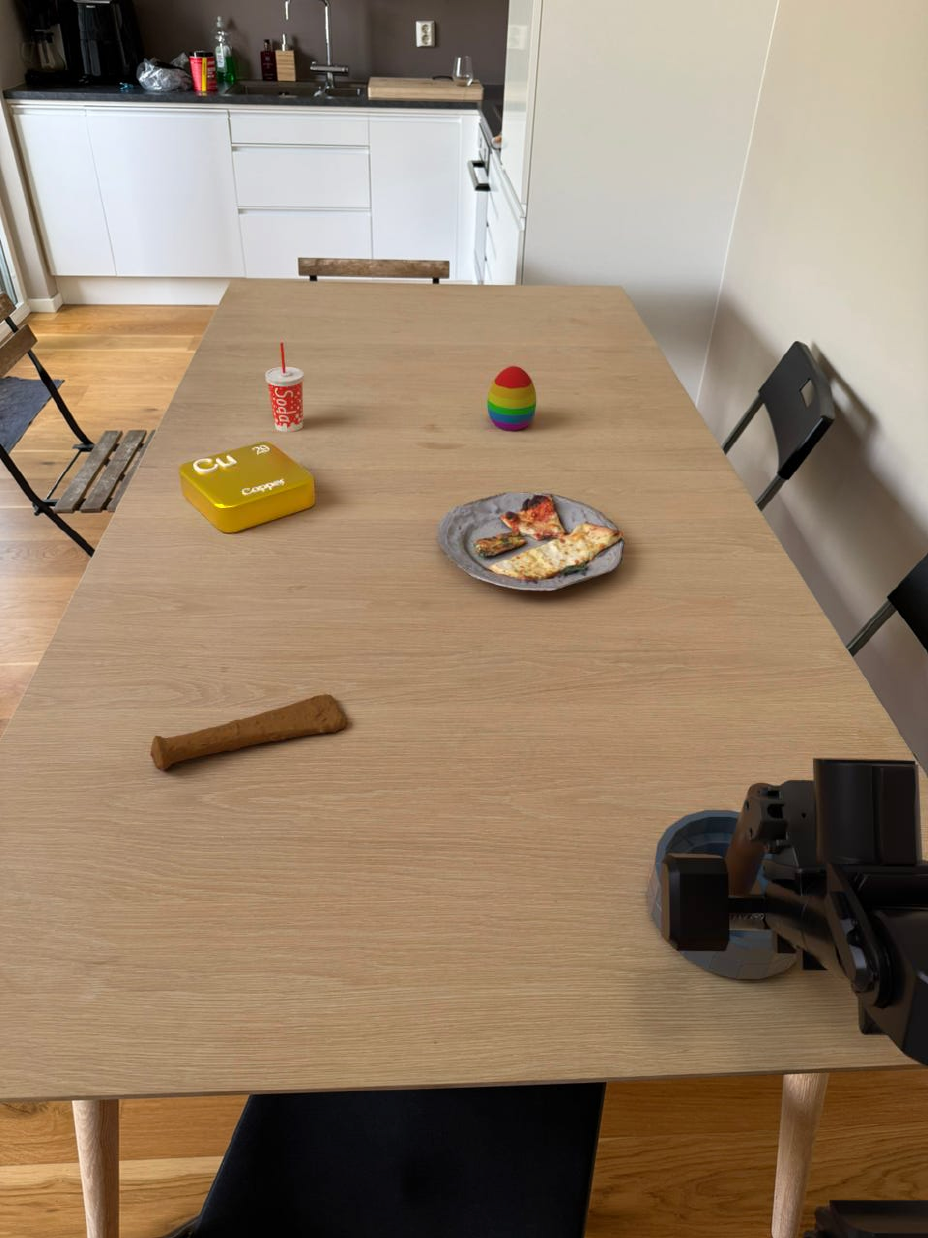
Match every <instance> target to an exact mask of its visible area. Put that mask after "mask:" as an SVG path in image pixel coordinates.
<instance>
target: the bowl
mask: <svg viewBox="0 0 928 1238" xmlns="http://www.w3.org/2000/svg"><path fill="white" fill-rule="evenodd" d="M740 812H741V811H740ZM740 812H739V811H736V810H731V809H704V810H699V811H697V812H693V813H689V814H685V815H684V816H682V817H680V819H678V820H677V821H675V822H674V823H672V824H670V825H669V826H668V827H667V828H666V829H665V831H664V832H663V834H662V836H661V837H660V838H659V840H658V842H657V844H656V848H655V852H654V854H653V855H654V856H653V859H652V862H651V866H650V870H649V874H648V880H647V886H646V893H645V895H646V901H647V905H648V909H649V913H650V917H651V919H652V921H653V922H654V924H655V926H656V928H657V929H658V931H659V933H661V861H662V860H663V859H664V858H665V857H666V856H667V855H668V854H708V855H718V856H721V857H723V858H724V859H725V856H726V853H727V850H728V847H729V844H730V841H731V839H732V836H733V833H734V830H735V827H736V824H737V821H738V818H739V815H740ZM764 858H772V854H765V857H764ZM757 879H758V881H759V883H760V885H761V894H764V892H765V889H766V886H767V884H768V882H770V880H768V879H765V878H764V877H763V862H762V865H761V867H760V870H759V873H758V875H757ZM755 914H757V915H759V918H760V916H761V913H754V914H753V917H755ZM763 915H764V914H763ZM729 932H730V941H729V944H728V946H727V949H726V951H725V952H724V951H677V952H678V954H679V955H680V956H682V957H683V958H684V959H686V960H688V961H689V962H692V963H693V964H695V965H696V966H699V967H700V968H702V969H704V970H705V971H708V972H710V973H714V974H718V975H721V976H725V977H728V978H731V979H736V980H762V979H767V978H768V977H771V976H774V975H777V974H780V973H783V972H785V971H787V970H788V969H789V968H790V967H792V965H794V964H795V963H796V954H783V953H776V952H775V951H773V950H772V934H771V930H729Z"/></svg>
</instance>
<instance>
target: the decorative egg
mask: <svg viewBox="0 0 928 1238" xmlns="http://www.w3.org/2000/svg"><path fill="white" fill-rule="evenodd" d="M486 402H487V403H486V404H487V412H488V415H489V419H490V420H491V422H492V423H493V424H494V426H496V427H497V428H498V429H501V430H505V431H520V430H522V429H524V428H526V427H527V426H528V425H529V424H530V422H531V421H532V420H533V418H534V416H535V413H536V408H537V393H536V388H535V385H534V382H533V380H532V378H531V376H530V375H529V374H528V372H526V371H525V370H524V369H523V368H521V367H519V366H517V365H511V366H508V367H505V368H504V369H503V370H501V371H500V372H499V373H498V374H497V375H496V377H495V378H494V379H493V381H492V383H491V385H490V388H489V391H488V395H487V401H486Z"/></svg>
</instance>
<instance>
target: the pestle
mask: <svg viewBox="0 0 928 1238" xmlns="http://www.w3.org/2000/svg"><path fill="white" fill-rule="evenodd" d="M769 785H772V784H771V783H767V782H755V783H753V784H752V785H750V786H749V788H748V790H747V792H746V795H745V798H744V801H745V800H746V799H747V798H748V797H750V796H756V788H757V786H769ZM743 805H744V803H743V804H742V807H741V810H740V815H739V818H738V821H737V824H736V827H735V830H734V833H733V836H732V839H731V841H730V844H729V847H728V850H727V853H726V856H725V859H724V860H725V863H726V867H727V870H728V874H729V894H761V885H760V883H759V881H758V879H757V875H758V873H759V870H760V867H761V865H762V862H763V858H764V857H765V854H766V853H765V851H764V846H763V845H762V844H761V843H751V842H750V841H749V839H748V838H747V833H746V826H745V819H744V812H743ZM729 914H730V916H731V918H732V915H733V914H735V915H736V917H738V914H741V915H742V918H743V916H744V914H746V915H747V916H748V918H749V915H750V914H752V915H753V914H754V913H729Z"/></svg>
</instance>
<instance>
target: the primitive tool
mask: <svg viewBox="0 0 928 1238" xmlns="http://www.w3.org/2000/svg"><path fill="white" fill-rule="evenodd" d="M347 726H348V720H347V718H346V717H345V714H344V712H343V710H342V709H341V707H340V706H339V704H338V702H337V701H336V699H335V698H334V696H333V695H331V694H328V693H324V694H319V695H314V696H311V697H309V698H305V699H303V700H301V701H297V702H295V703H292V704H289V705H285V706H281V707H278V708H276V709H272V710H267V711H264V712H261V713H258V714H255V715H252V716H248V717H244V718H242V719H234V720H233V719H232V720H230V721H229V722H227V723H224V724H221V725H217V726H212V727H207V728H202V729H199V730H197V731H193V732H188V733H184V734H179V735H175V736H170V737H169V736H168V737H162V736H160V735H154V737H153V738H152V743H151V746H150V752H149V754H150V757H151V759H152V761H153V764H154V767H155V768H156V769H158V770H159V771H161V772H163V771H166V770H167V769H168V768H170V766H171V765H172V764H174V763H178V762H181V761H184V760H189V759H194V758H197V757H203V756H206V755H212V754H216V753H221V752H225V751H229V752H234V751H236V750H238V749H240V748H244V747H249V746H253V745H259V744H262V743H268V742H269V743H270V742H277V741H279V740H282V741H283V740H287V739H294V738H297V737H304V736H311V735H317V734H326V733H328V732H330V733H336V732H337V731H338V730H343V729H344V728H346V727H347Z"/></svg>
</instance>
